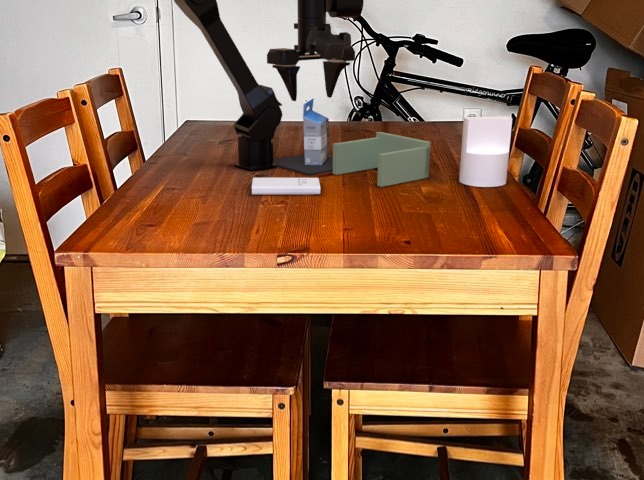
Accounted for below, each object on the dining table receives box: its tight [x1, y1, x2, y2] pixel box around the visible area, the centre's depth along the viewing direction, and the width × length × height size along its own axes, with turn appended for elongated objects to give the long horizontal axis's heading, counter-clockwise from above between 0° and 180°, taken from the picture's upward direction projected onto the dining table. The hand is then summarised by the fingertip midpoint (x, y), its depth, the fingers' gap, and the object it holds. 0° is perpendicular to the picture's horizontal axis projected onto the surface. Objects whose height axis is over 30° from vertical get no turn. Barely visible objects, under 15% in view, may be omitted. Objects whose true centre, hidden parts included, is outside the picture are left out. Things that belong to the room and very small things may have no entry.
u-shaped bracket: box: [332, 131, 432, 188], centre depth 161 cm, size 13×14×7 cm
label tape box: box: [302, 98, 330, 165], centre depth 170 cm, size 9×4×12 cm, turn 168°
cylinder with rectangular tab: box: [458, 115, 513, 188], centre depth 155 cm, size 9×9×12 cm
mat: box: [272, 154, 333, 176], centre depth 172 cm, size 14×16×1 cm
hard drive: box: [251, 177, 321, 196], centre depth 151 cm, size 2×8×12 cm
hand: (312, 99), depth 169 cm, fingers open, 9 cm apart
